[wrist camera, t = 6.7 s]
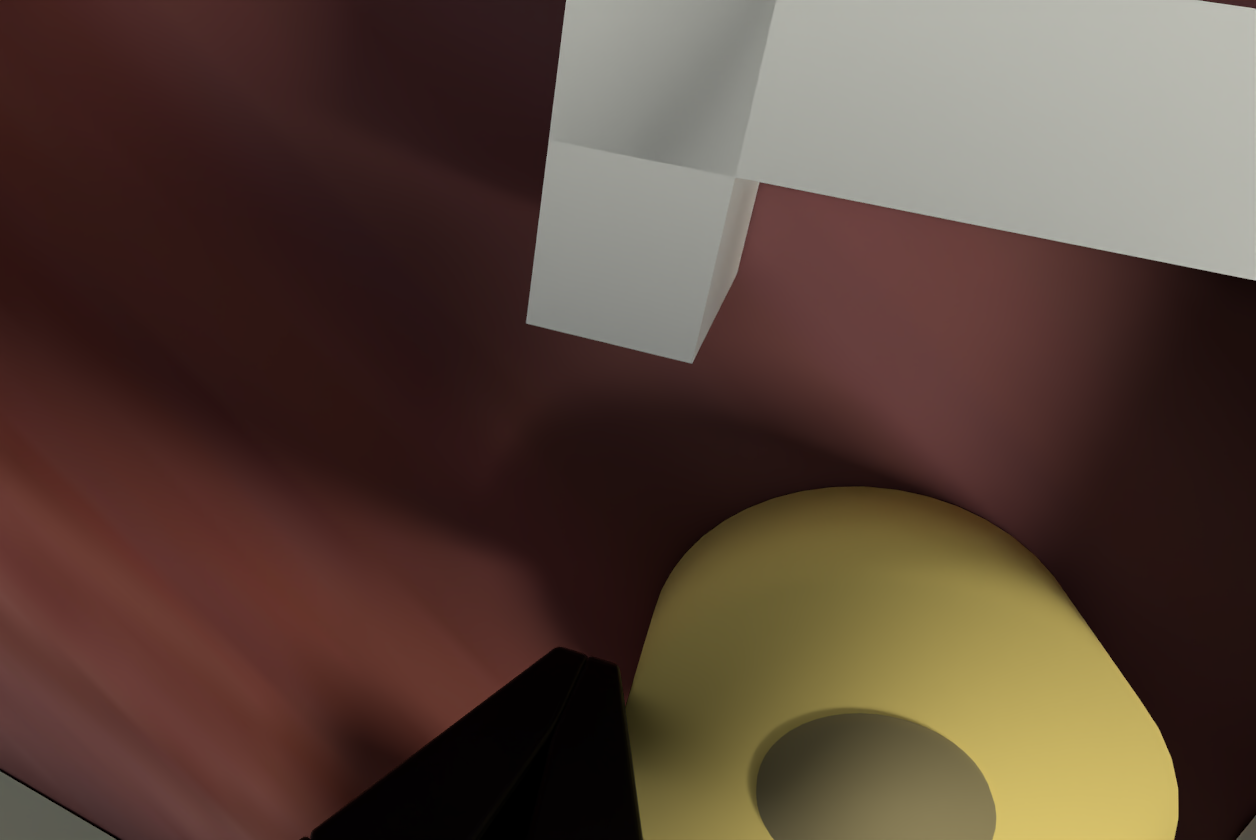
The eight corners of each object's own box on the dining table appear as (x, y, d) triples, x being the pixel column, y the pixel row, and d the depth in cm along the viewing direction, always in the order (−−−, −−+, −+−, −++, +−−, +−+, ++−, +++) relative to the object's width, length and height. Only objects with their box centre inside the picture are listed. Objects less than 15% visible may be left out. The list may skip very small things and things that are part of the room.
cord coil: (980, 875, 9) (1031, 1052, 7) (617, 750, 10) (579, 882, 8) (1176, 563, 7) (1318, 698, 5) (700, 435, 8) (674, 512, 6)
